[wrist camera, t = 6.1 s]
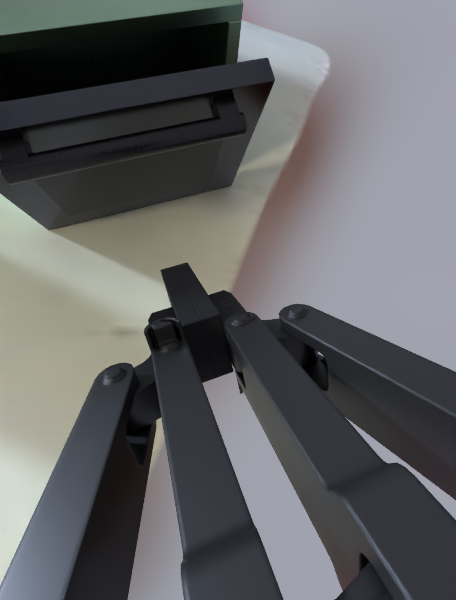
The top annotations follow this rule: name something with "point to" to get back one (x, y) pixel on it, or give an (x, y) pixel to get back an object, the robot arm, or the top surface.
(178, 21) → the oven
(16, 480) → the top surface
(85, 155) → the oven door
